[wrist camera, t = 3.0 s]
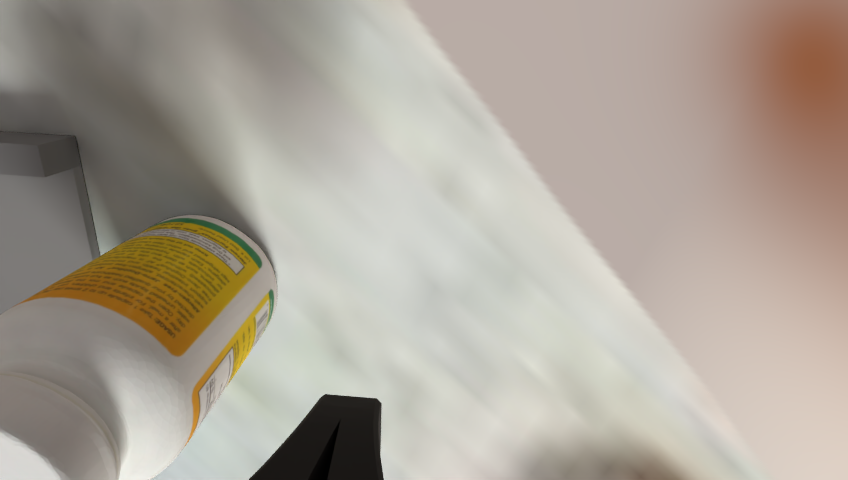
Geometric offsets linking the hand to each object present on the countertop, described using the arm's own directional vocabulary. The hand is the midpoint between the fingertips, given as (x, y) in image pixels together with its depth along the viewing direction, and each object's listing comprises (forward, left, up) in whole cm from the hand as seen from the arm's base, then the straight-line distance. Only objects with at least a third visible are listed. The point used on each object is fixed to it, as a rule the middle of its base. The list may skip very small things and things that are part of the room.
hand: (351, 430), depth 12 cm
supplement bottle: (0, +7, -7) cm, 10 cm away
